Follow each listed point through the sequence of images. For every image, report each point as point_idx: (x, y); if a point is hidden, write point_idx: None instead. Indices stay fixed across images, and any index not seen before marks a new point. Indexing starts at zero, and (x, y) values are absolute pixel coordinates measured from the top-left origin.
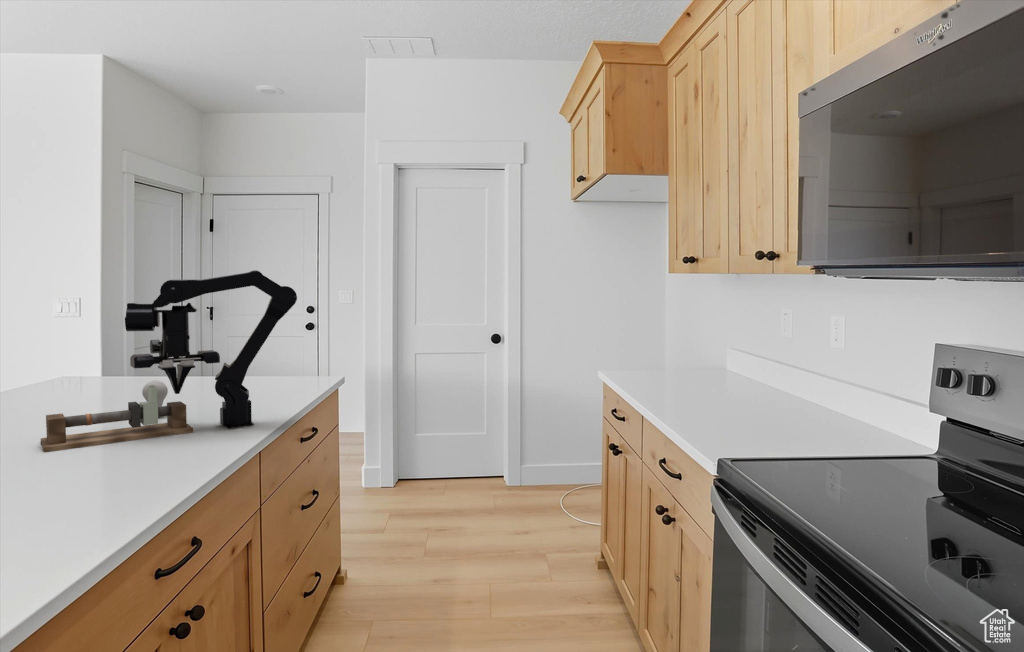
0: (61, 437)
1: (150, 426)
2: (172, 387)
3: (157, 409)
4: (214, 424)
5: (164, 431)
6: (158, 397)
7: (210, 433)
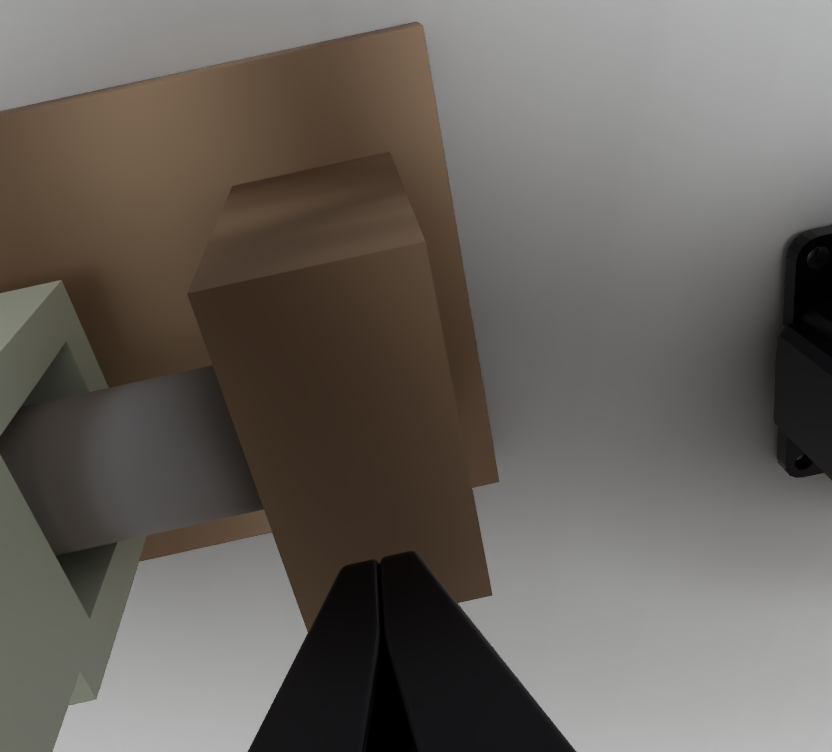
0: None
1: (37, 227)
2: (294, 670)
3: (112, 629)
4: (741, 181)
5: (238, 528)
6: None
7: (612, 549)
